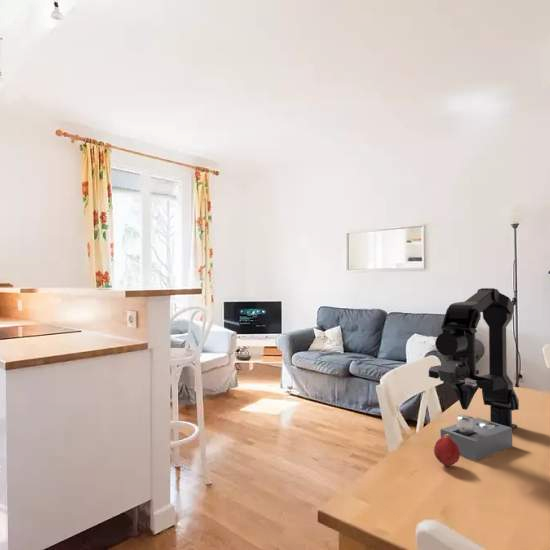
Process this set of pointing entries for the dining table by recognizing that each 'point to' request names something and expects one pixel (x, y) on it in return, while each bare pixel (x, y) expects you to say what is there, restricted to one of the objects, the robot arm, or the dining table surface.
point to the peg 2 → (487, 425)
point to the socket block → (480, 439)
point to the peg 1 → (465, 425)
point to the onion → (446, 451)
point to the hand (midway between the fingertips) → (464, 409)
